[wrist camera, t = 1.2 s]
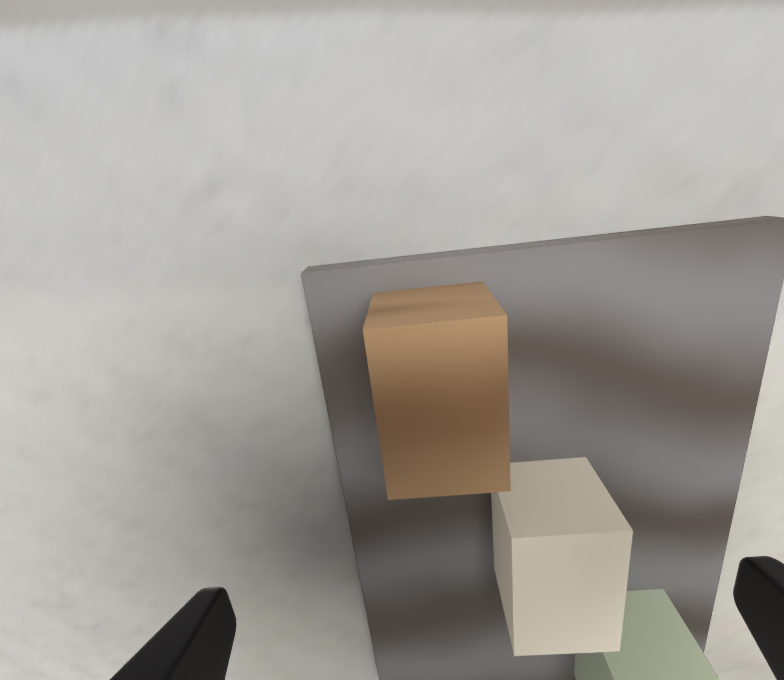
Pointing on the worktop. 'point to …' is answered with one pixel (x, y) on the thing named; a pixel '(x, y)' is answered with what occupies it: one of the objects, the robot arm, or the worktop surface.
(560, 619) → the cream brick
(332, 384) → the slate board
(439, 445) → the walnut brick
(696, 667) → the sage brick
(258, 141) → the worktop surface
